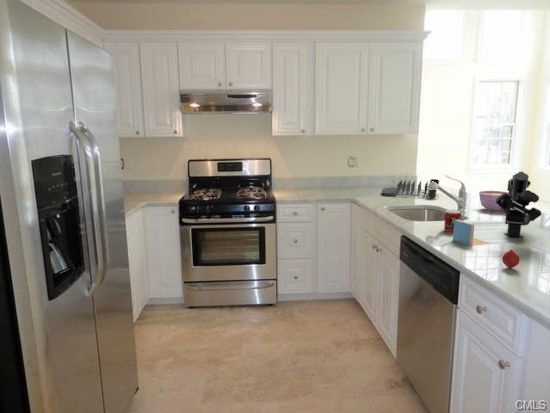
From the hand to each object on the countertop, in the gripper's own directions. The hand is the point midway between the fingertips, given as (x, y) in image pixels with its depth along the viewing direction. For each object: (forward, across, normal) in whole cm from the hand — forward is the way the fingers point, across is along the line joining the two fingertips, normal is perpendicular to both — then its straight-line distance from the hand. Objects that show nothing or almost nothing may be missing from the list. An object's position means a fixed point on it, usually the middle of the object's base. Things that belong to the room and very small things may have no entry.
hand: (517, 219), depth 175 cm
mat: (+6, -8, +20) cm, 23 cm away
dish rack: (-105, -14, +110) cm, 153 cm away
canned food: (-10, -11, +34) cm, 37 cm away
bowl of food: (-70, +26, +56) cm, 93 cm away
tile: (+9, -12, +20) cm, 25 cm away
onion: (+34, -5, -3) cm, 34 cm away
